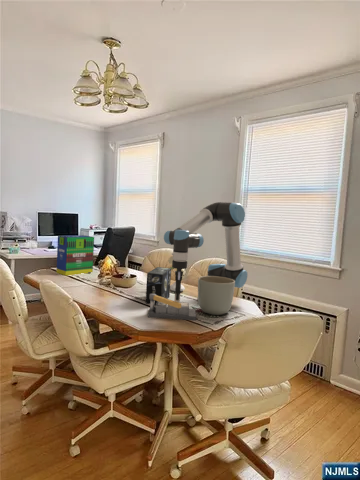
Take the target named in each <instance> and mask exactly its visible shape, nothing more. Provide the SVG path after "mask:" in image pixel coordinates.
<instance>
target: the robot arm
mask: <svg viewBox="0 0 360 480" xmlns="http://www.w3.org/2000/svg"><path fill="white" fill-rule="evenodd" d="M245 217H246V212H245V209H244V206H243V205H242V204H241V203H238V202H226V201H225V202H223V201H222V202H221V201H220V202H213V203H211V204H209V205H206V206H205V207H203V208H202V209H200V211H199V213H197V214H196V215H194V216H193V217H191V218H189V220H187V221H186V222H184V223H183V224H181V225H180V226H178V227H177V228H175V229H174V230H167V231H165V232H164V235H163V240H164V243H165V244H168V245H170V246H173V249H172V253H171V256H173V259H174V260H173V261H172V264H171V267H173V268H174V269H177V270H174V276H175V277H174V278H175V279H174V280H175V281H176V288H175V291H173V294H174V300H173V301H175V302H178V303H180V302H181V301H180V300H181V294H182V291H180V290H181V284H182V281H183V275H184V271H183V270H185V269H187V268H188V267H187V266H188V257H189V256H188V255H189V249H197V248H200V247H202V246H203V244H204V241H205V240H204V239H205V238H204V236H203V235H202V234H201V233H196V232H197V231H198V230H200V229H201V228H202V227H204V226H205V225H206V224H210V223H212V222H221V226H222V227H223V228H224V238H225V253H226V254H225V255H226V263H212V264H209V265H208V266H207V267H208V268H207V275H206V276H219V277H226V278H230V279H233V280H234V281H235V287H234V288H238V289H241V288H243V287H244V286H245V284H246V282H247V279H248V276H249V275H248V272H247V270H246V269H244V265H243V264H242V259H241V243H240V242H241V241H240V227H241V226H242V223H243V222H244V221H245Z"/></svg>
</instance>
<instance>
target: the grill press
mask: <svg viewBox="0 0 360 480" xmlns="http://www.w3.org/2000/svg"><path fill="white" fill-rule="evenodd" d="M180 303H181V308H176V307H173V306H170V305H167V304H165V303H162V302H159V301H157V303H156V305H155V300H151V302H150V304H149V305H150V307H149V309H148V314H147V318H152V319H153V318H154V319H155V318H156V319H167V320H169V319H170V320H182V321H183V320H184V321H185V320H186V321H197V314H196V309H195V308H190V302H189V301H180Z"/></svg>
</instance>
